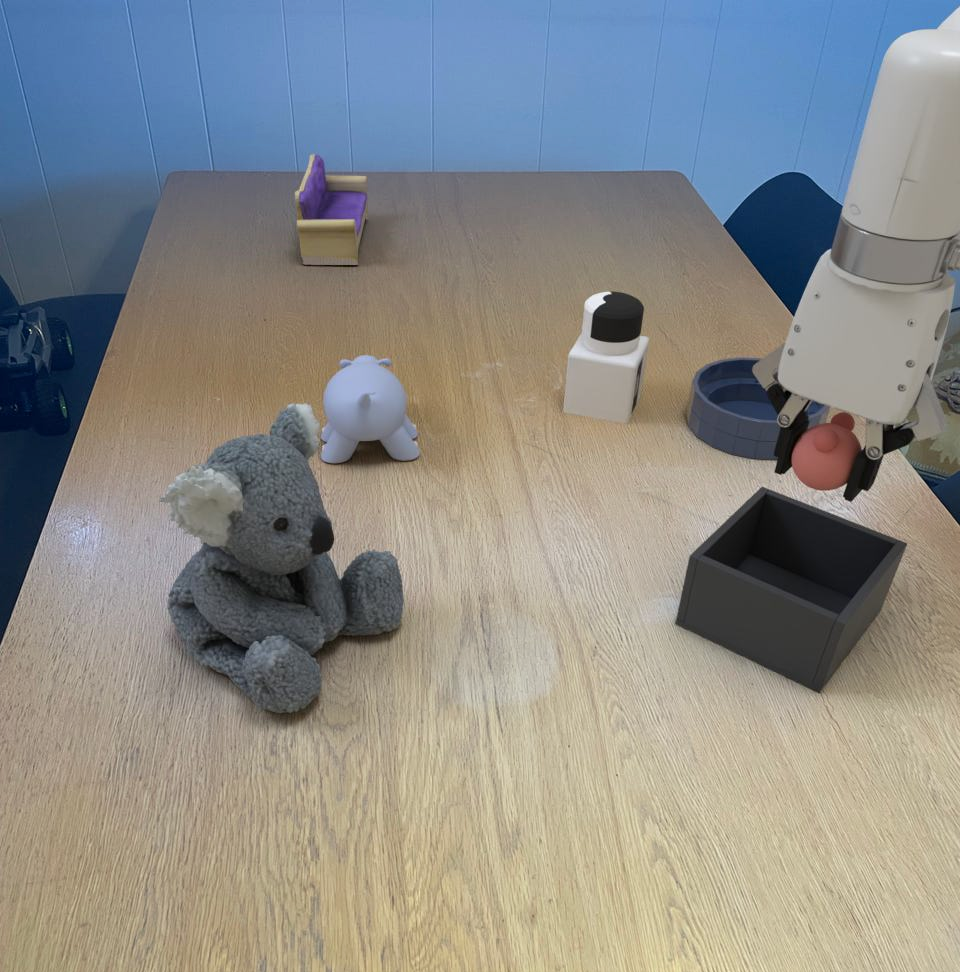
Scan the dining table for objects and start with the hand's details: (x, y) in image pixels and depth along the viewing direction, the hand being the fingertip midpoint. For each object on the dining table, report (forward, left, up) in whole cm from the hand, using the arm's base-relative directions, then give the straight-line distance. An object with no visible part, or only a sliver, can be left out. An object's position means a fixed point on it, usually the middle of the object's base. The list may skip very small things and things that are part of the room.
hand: (819, 478), depth 77 cm
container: (+33, -22, -15) cm, 42 cm away
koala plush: (+33, +30, -15) cm, 47 cm away
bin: (0, 0, -15) cm, 15 cm away
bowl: (+17, -29, -15) cm, 37 cm away
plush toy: (0, 0, -1) cm, 1 cm away
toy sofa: (+93, -39, -15) cm, 102 cm away
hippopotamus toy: (+49, +1, -15) cm, 51 cm away
